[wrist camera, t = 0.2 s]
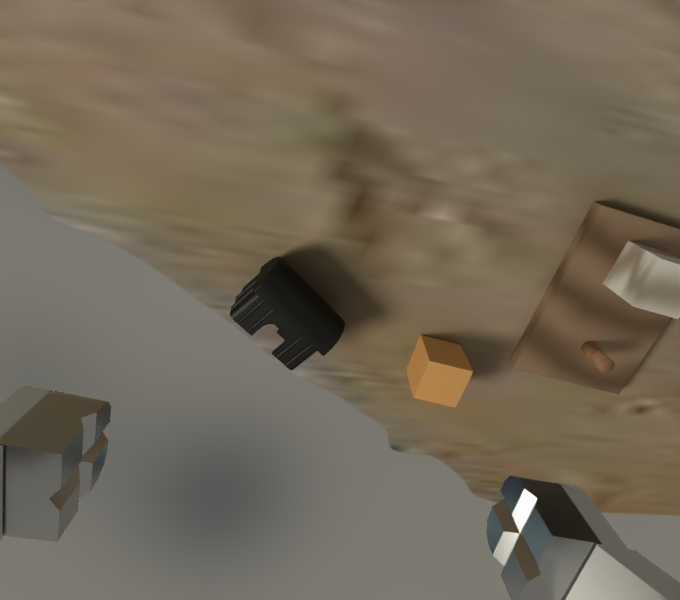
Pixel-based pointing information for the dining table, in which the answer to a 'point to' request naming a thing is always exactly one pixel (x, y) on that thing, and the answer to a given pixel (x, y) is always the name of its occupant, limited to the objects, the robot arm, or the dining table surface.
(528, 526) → the robot arm
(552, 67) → the dining table surface
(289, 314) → the end cap
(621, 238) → the peg board
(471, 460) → the dining table surface
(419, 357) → the tan wooden cube
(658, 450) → the dining table surface
